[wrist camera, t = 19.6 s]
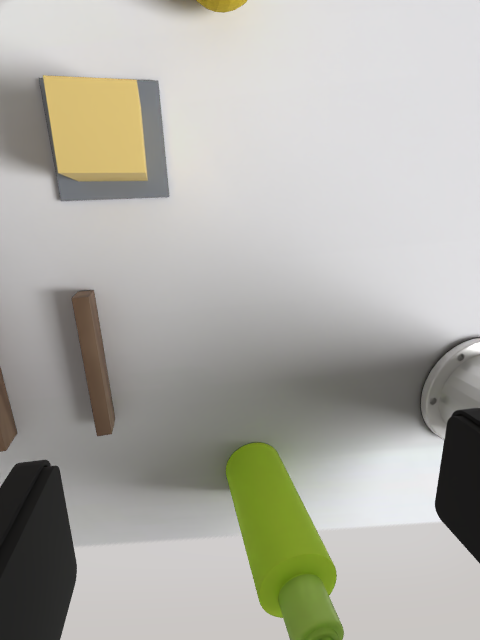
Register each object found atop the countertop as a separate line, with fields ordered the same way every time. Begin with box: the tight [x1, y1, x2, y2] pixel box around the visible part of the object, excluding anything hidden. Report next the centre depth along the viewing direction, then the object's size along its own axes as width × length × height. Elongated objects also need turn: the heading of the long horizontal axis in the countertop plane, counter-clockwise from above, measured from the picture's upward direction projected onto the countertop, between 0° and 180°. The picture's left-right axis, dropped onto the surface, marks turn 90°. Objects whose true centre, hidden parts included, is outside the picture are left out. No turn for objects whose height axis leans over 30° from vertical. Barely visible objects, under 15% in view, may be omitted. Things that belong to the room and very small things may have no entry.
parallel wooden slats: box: [0, 290, 115, 451], centre depth 29 cm, size 9×12×2 cm
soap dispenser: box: [226, 443, 344, 640], centre depth 29 cm, size 6×7×20 cm
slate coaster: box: [39, 78, 169, 201], centre depth 27 cm, size 8×8×1 cm
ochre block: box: [43, 76, 148, 181], centre depth 24 cm, size 5×5×6 cm
